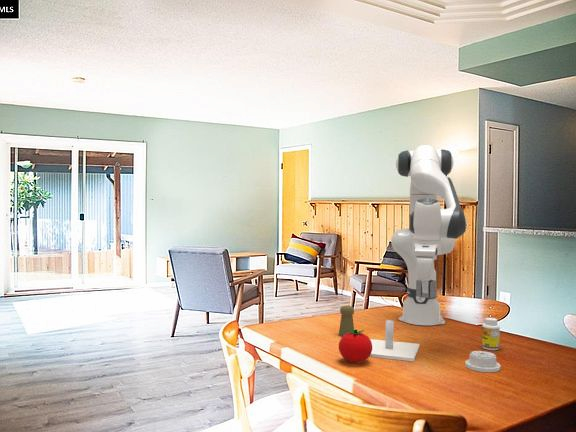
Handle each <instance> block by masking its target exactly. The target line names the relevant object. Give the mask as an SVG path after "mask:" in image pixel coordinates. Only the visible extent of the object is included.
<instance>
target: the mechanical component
mask: <svg viewBox="0 0 576 432" xmlns="http://www.w3.org/2000/svg"><path fill="white" fill-rule="evenodd" d="M464 366H465V367H466V368H467V369H469V370H471V371H475V372H480V373H497V372H500V371H501V364H500V363H499V362H497V355H496V354H495V353H493V352H490V351H484V350H473V351H471V352H469V359H466V360H465V365H464Z"/></svg>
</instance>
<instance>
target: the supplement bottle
mask: <svg viewBox="0 0 576 432" xmlns="http://www.w3.org/2000/svg"><path fill="white" fill-rule="evenodd" d="M500 330H501V328H500V325H499V324H498V319H497V318H494V317H486V318H484V323H482V328H481V334H482V335H481V347H482V349H484V350H486V351H497V350H499V349H500Z"/></svg>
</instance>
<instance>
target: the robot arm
mask: <svg viewBox="0 0 576 432" xmlns="http://www.w3.org/2000/svg"><path fill="white" fill-rule="evenodd" d="M395 167H396V171H397V173H398V174H399V175H400V176H401V177H404V178H405V177H406V178H407V177H410V187H409V215H408V217H409V228H408V227H407V228H401V229H397V230H395V231H394V232H393V233H392V236H391V240H390V242H391V247H392V250H394V252H395V253H397V254H398V255H399V256H400V257H401V258H402V259H403V260H404V263H405V265H406V267H407V275H408V287H407V291H406V295H407V297H406V299H404V300H403V303H402V304H403V305H402V306H403V307H402V315H401V316H399V317H398V321H401V322H405V323H406V324H409V325H410V324H411V325H416V326H436V325H445V324H446V320H445V319H444V317H443V316H442V311H441V303H440V301H438V299H437V296H438V289H437V288H436V297H435V298H422V297H418V296H416V280H419V281H422V293H428V284H429V281H430V280H435V281H436V282H437V271H436V269H435V266H434V265H435V261H437V259H438V256H440V255H446V254H450V253H451V252H453V250H454V248H455V245H456V240H457V239H458V238H460V237H461V236H463V235H464V234H465V233H466V230H467V218H466V216H465V213H464V211H463V209H462V207H461V204H460V200H459V198H458V195H457V194H458V193H457V192H456V188H455V186H454V183H453V181H452V179H451V178H450V177H449V174H450V173H451V172H452V170H453V167H454V158H453V156H452V153H451V151H450V150H448V149H436V148H435V147H434V146H432V145H428V144H422V145H418V146H417V147H416V148H415V149H414V150H404V151H401V152H399V153H398V156H397V158H396V160H395ZM438 197H440V198H441V199H443V201H444V203H445V207H446V208H441V203H440V201H439V200H438Z"/></svg>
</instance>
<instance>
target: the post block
mask: <svg viewBox="0 0 576 432" xmlns="http://www.w3.org/2000/svg"><path fill="white" fill-rule="evenodd" d="M394 321H395V320H391V319H389V320H388V319H387V320H385V335H384V337H385V339H383V340H382V339H372V338H369V339H370V340H371V342H372V352H371V355H370V356H369V358H377V359H388V360H397V361H405V362H414V361H415V360H416V357H417V354H418V351H419V349H420V343H413V342H405V341H394V325H395V324H394Z"/></svg>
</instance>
